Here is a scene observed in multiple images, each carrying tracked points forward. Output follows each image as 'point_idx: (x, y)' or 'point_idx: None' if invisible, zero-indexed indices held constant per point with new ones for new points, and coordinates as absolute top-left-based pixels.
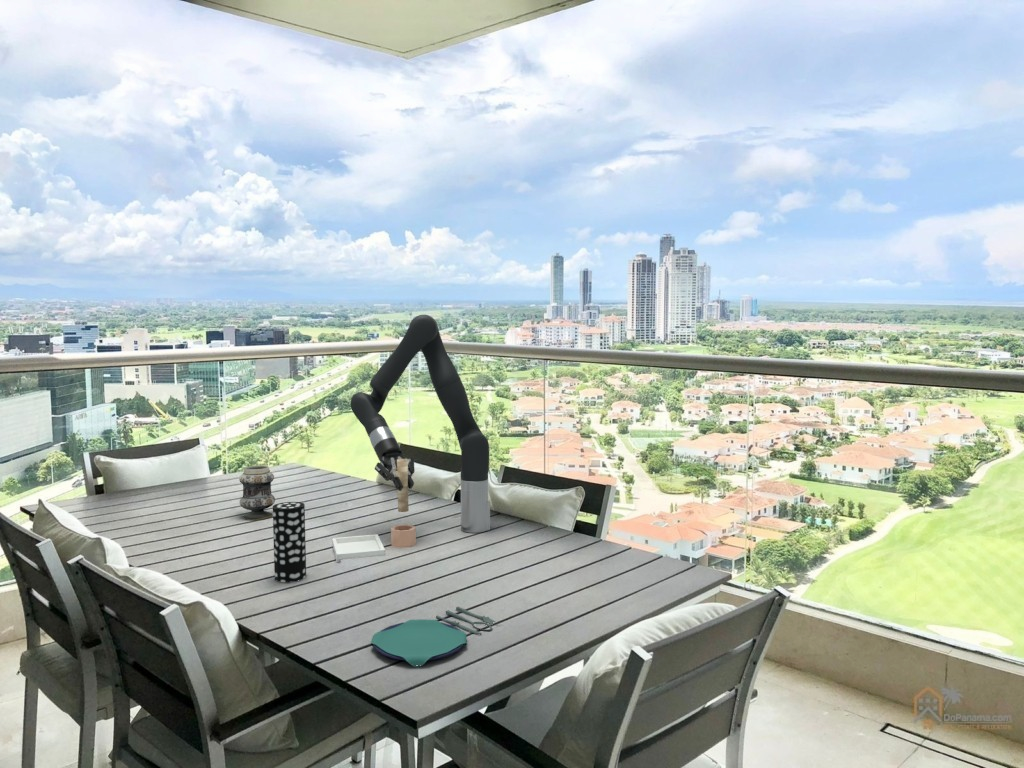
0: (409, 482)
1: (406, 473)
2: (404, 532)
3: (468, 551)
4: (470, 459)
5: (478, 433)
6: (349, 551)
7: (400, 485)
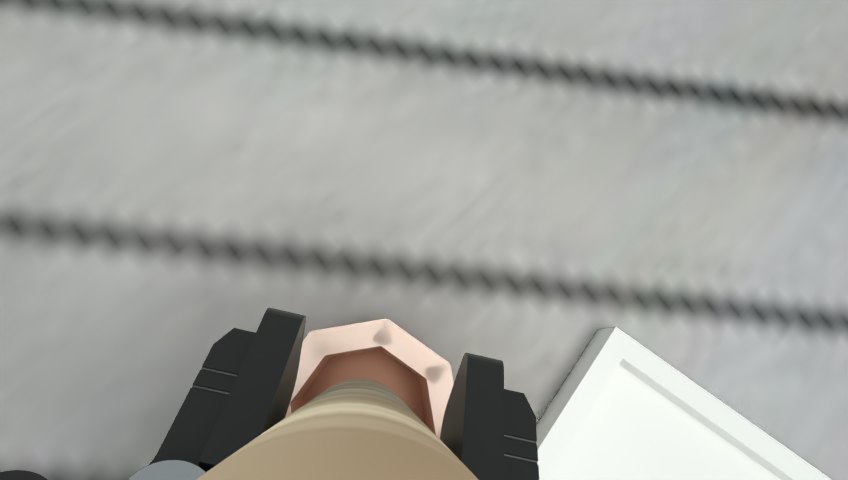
0: (283, 382)
1: (337, 401)
2: (422, 345)
3: (200, 21)
4: None
5: None
6: None
7: (500, 383)
